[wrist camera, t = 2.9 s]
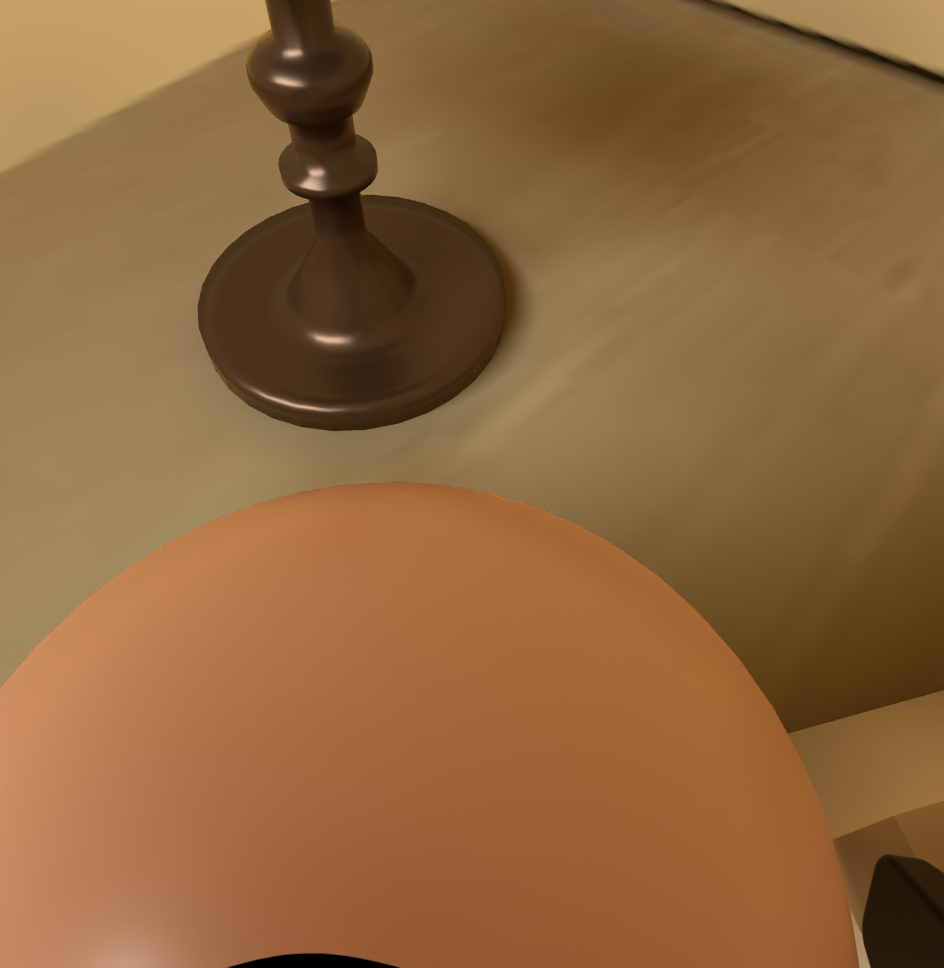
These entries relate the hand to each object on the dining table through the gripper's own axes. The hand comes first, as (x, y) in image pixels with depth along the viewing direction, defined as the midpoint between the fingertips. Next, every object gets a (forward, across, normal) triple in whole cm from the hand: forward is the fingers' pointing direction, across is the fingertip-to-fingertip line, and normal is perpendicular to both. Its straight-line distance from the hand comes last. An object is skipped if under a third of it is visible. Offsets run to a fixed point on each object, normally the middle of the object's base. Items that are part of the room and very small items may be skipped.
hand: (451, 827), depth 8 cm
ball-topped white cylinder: (+5, 0, +6) cm, 8 cm away
